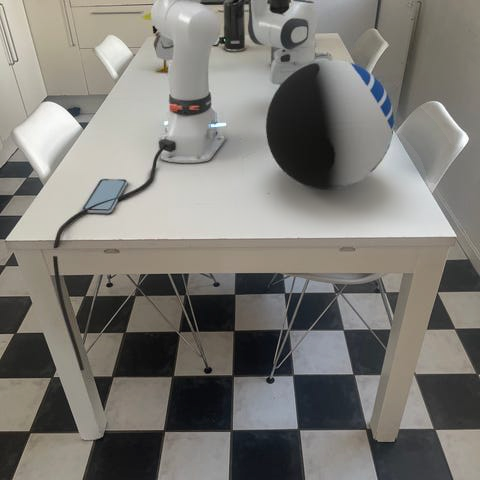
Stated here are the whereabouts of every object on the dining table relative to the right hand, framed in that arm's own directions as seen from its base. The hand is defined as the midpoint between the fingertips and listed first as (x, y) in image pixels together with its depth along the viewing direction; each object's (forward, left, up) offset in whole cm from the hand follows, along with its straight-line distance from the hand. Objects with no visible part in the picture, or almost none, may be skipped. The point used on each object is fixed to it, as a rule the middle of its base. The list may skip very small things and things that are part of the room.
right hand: (279, 38), depth 204 cm
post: (+19, -9, -12) cm, 24 cm away
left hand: (+38, -17, -9) cm, 42 cm away
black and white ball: (+86, -44, -12) cm, 97 cm away
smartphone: (+63, -94, -12) cm, 114 cm away
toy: (-23, -37, -12) cm, 45 cm away
